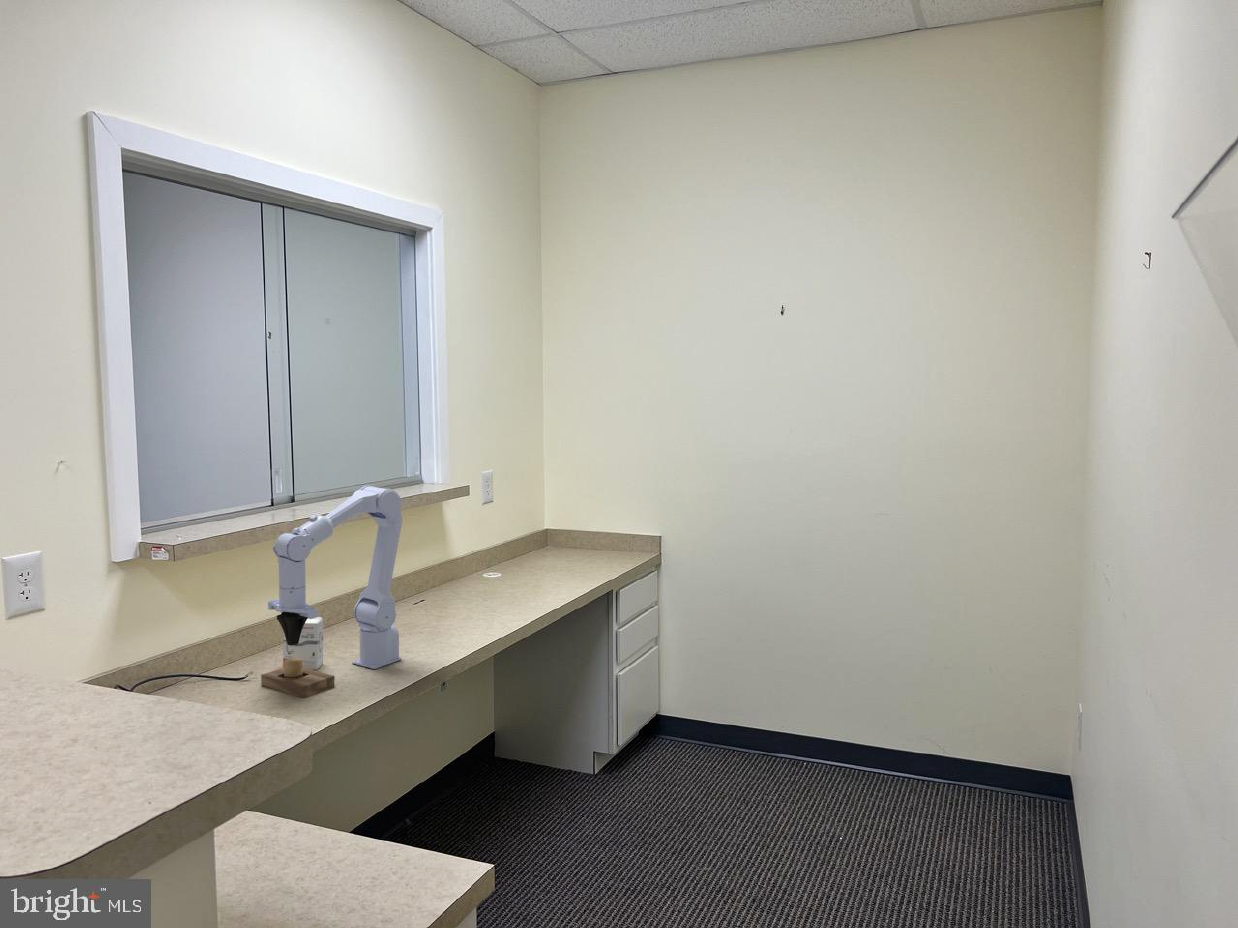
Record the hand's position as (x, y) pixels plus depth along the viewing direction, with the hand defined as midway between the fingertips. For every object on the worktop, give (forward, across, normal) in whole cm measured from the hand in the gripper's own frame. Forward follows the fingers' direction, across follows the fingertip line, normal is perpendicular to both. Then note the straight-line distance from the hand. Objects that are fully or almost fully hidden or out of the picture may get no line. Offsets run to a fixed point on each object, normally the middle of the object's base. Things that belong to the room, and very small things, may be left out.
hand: (292, 644), depth 211 cm
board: (+10, +1, 0) cm, 10 cm away
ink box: (+10, -9, +10) cm, 17 cm away
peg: (+10, 0, 0) cm, 10 cm away
